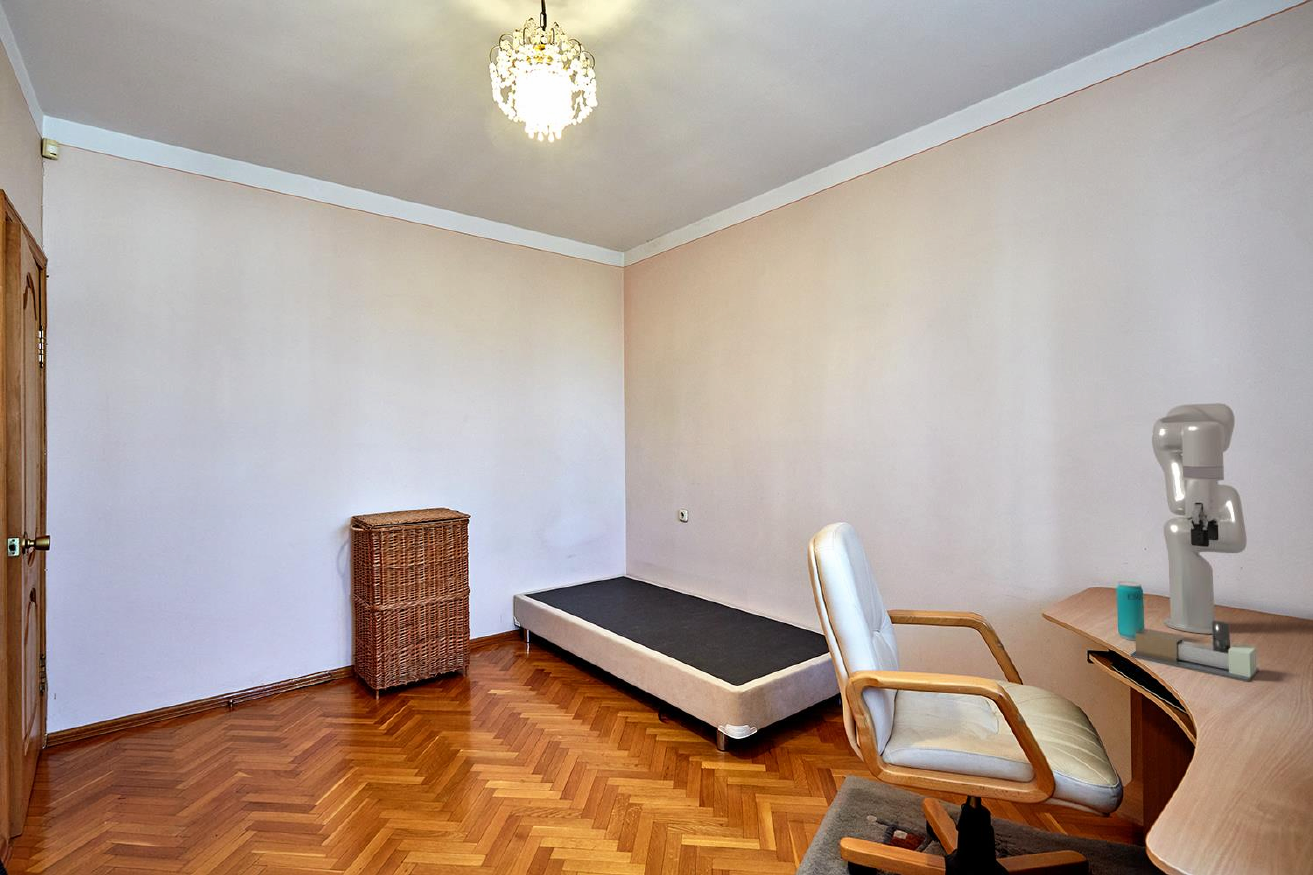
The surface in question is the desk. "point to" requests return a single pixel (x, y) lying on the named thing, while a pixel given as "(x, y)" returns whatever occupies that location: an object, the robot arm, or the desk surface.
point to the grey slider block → (1208, 648)
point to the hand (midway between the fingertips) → (1205, 542)
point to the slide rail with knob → (1172, 653)
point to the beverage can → (1130, 609)
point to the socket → (1242, 660)
